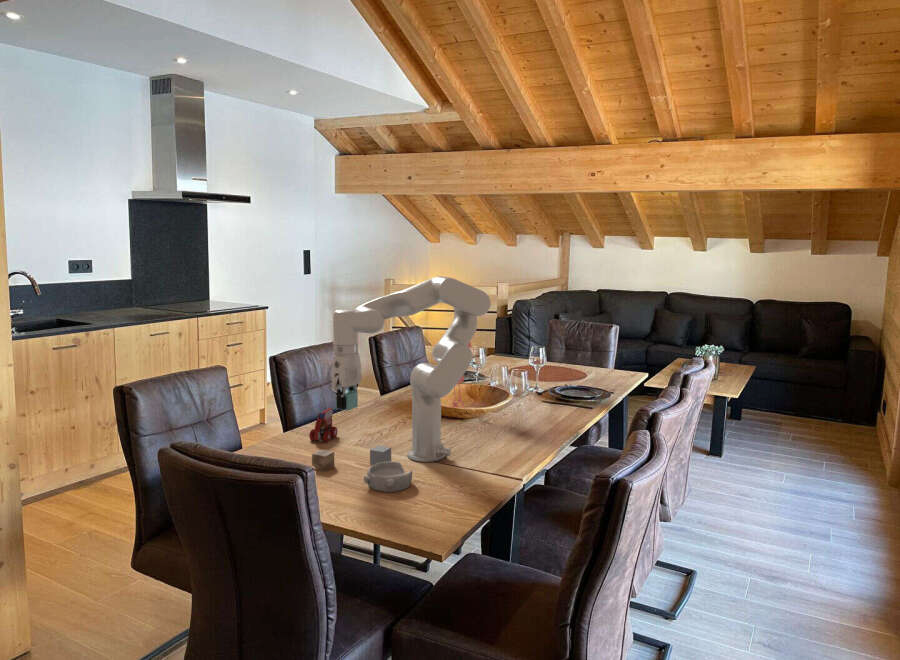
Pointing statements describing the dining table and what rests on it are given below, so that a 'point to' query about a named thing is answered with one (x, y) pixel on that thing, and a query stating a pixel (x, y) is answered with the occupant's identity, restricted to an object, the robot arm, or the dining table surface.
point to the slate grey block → (380, 454)
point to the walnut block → (323, 460)
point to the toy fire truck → (324, 427)
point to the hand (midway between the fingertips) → (346, 406)
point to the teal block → (349, 400)
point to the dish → (388, 477)
